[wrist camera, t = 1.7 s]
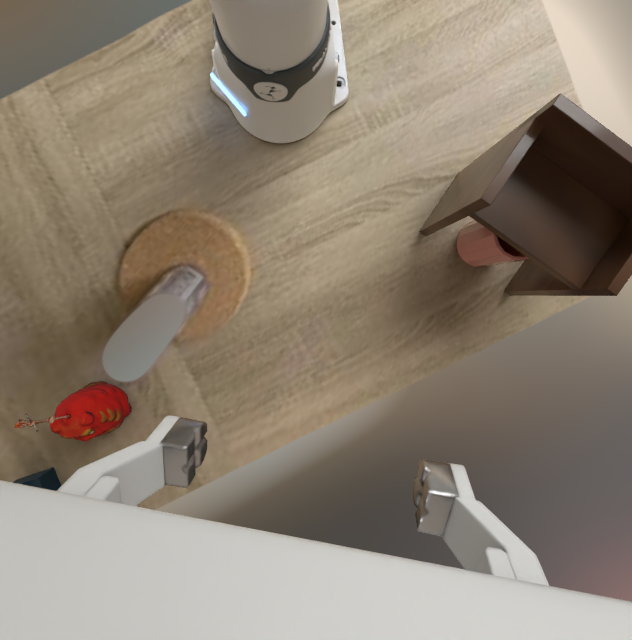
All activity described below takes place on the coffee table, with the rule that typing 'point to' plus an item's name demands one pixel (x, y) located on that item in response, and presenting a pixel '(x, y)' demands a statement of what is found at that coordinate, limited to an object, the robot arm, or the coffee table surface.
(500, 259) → the cup
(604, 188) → the dark wooden stand
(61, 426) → the red clay folk toy
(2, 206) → the coffee table surface
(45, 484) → the watch
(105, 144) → the coffee table surface
